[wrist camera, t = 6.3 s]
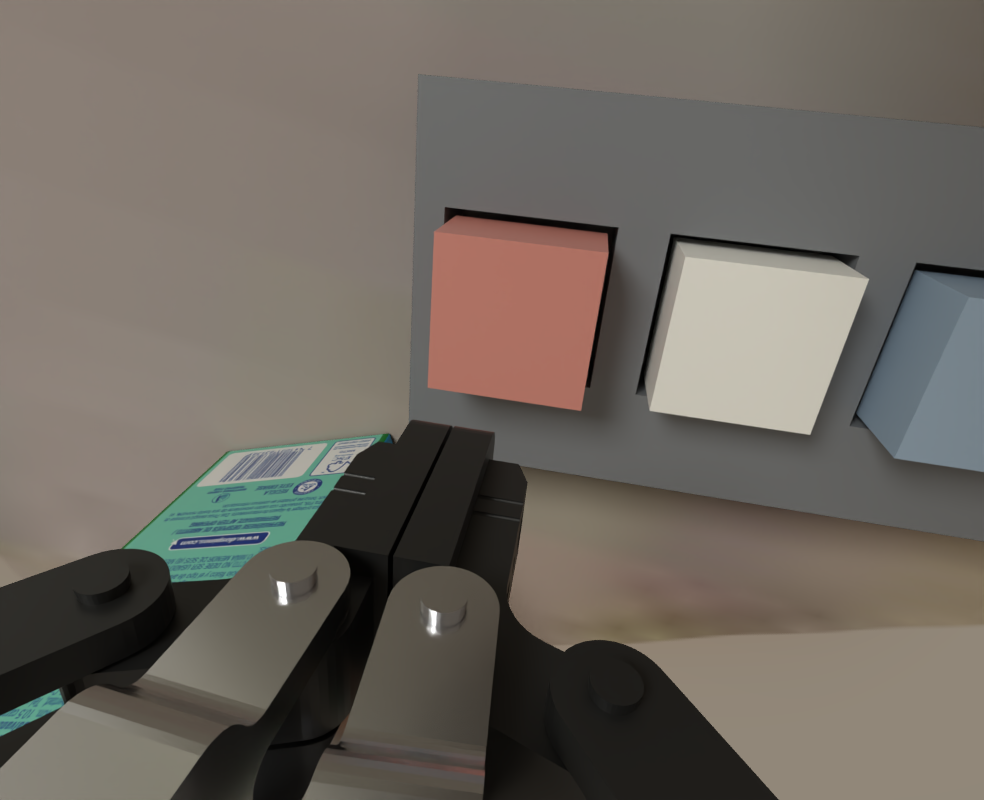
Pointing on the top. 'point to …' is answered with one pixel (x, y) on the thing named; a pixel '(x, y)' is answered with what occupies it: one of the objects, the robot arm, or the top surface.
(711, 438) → the key panel
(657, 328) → the white key
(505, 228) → the red key
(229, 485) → the milk carton
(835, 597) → the top surface
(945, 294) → the blue key
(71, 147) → the top surface
